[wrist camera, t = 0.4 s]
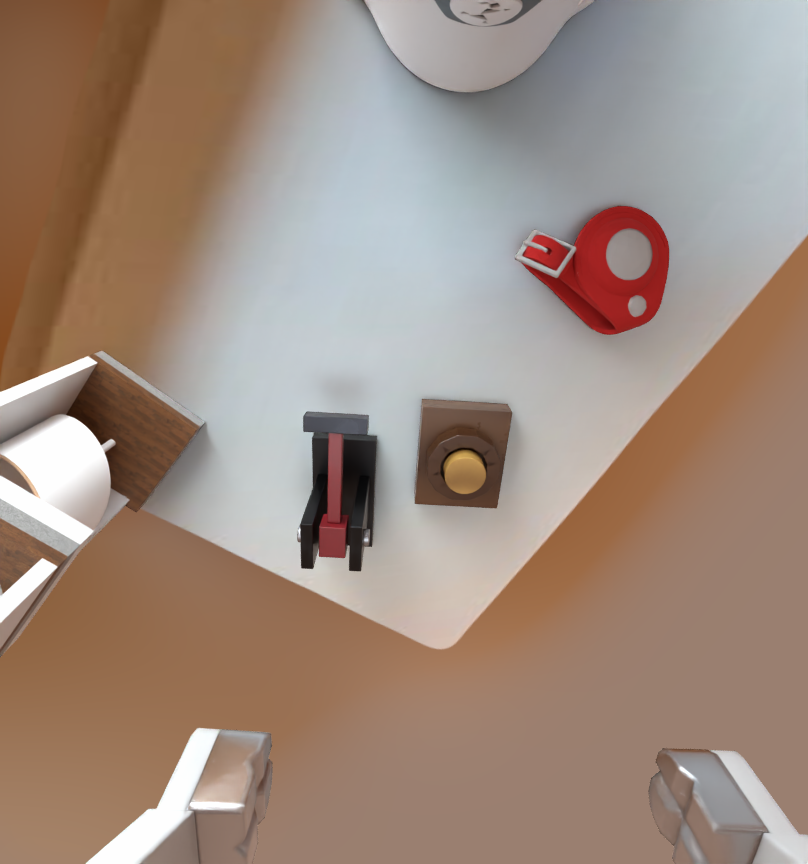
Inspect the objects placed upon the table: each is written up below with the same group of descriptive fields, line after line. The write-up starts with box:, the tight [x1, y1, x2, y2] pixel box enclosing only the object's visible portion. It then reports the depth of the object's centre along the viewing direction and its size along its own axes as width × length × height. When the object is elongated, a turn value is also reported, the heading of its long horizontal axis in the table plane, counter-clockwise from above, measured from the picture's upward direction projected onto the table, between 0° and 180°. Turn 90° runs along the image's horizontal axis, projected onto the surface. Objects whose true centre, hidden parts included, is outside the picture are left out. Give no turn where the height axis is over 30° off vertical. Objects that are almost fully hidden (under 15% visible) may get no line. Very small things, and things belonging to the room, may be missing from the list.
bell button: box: [443, 449, 486, 494], centre depth 43 cm, size 4×4×2 cm
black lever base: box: [297, 433, 377, 571], centre depth 44 cm, size 12×6×10 cm, turn 176°
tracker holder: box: [515, 206, 669, 335], centre depth 39 cm, size 12×4×10 cm
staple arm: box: [303, 412, 369, 558], centre depth 40 cm, size 12×5×2 cm, turn 176°
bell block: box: [415, 399, 512, 508], centre depth 45 cm, size 10×8×4 cm
